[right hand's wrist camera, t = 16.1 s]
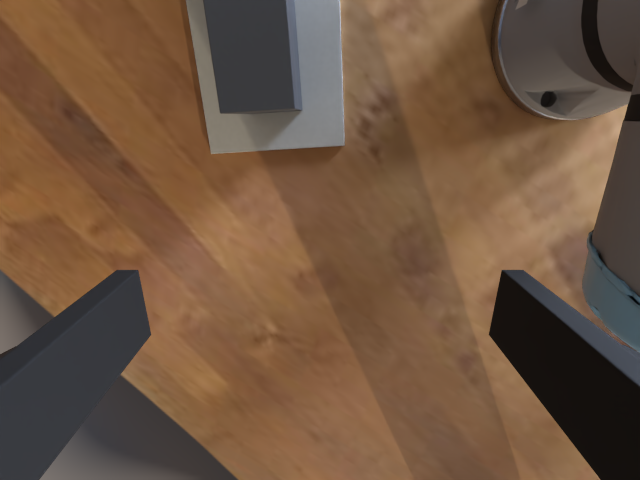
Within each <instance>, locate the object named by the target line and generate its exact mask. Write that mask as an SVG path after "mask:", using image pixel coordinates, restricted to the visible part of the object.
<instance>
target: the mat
mask: <svg viewBox="0 0 640 480" xmlns="http://www.w3.org/2000/svg"><path fill="white" fill-rule="evenodd" d="M186 5H187V11H188V17H189V23H190V29H191V35H192V41H193V47H194V53H195V59H196V66H197V72H198V78H199V84H200V90H201V96H202V102H203V108H204V114H205V120H206V126H207V133H208V139H209V145H210V151H211V154H217V153H234V152H250V151H266V150H283V149H299V148H315V147H332V146H344V145H345V142H344V112H343V82H342V52H341V22H340V0H295V13H296V27H297V41H298V54H299V68H300V82H301V95H302V109H303V110H302V111H292V112H276V113H261V114H221V113H220V110H219V103H218V97H217V90H216V83H215V77H214V70H213V63H212V57H211V50H210V44H209V37H208V30H207V24H206V17H205V10H204V4H203V0H186Z"/></svg>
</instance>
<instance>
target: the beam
mask: <svg viewBox="0 0 640 480" xmlns="http://www.w3.org/2000/svg"><path fill="white" fill-rule="evenodd" d="M203 4H204V10H205V17H206V24H207V30H208V37H209V44H210V50H211V57H212V63H213V70H214V77H215V83H216V90H217V97H218V103H219V110H220V113H221V114H261V113H276V112H292V111H302V110H303V109H302V95H301V82H300V68H299V54H298V41H297V27H296V13H295V0H203Z"/></svg>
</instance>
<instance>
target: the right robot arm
mask: <svg viewBox="0 0 640 480" xmlns="http://www.w3.org/2000/svg"><path fill="white" fill-rule="evenodd" d="M492 59H493V64H494V68H495V71H496V75H497V77H498V80H499V82H500V84H501V86H502V88H503V89H504V91H505V92H506V94H507V95H508V96H509V97H510V99H511V100H512V101H513V102H514V103H515V104H517V105H518V106H519V107H520V108H522V109H523V110H525V111H527V112H528V113H530V114H533V115H535V116H538V117H542V118H546V119H553V120H579V119H586V118H591V117H594V116H598V115H601V114H604V113H607V112H610V111H612V110H615V109H617V108H619V107H622V106H624V105H627V104H628V107H627V111H626V115H625V118H624V120H623V123H622V127H621V131H620V135H619V139H618V143H617V147H616V151H615V155H614V159H613V163H612V166H611V170H610V174H609V177H608V181H607V184H606V188H605V192H604V195H603V199H602V202H601V206H600V209H599V213H598V217H597V220H596V224H595V227H594V230H593V231H592V232H590V233H589V235H588V238H587V248H588V256H587V261H586V266H585V271H584V276H583V281H582V288H583V293H584V296H585V299H586V302H587V304H588V305H589V307H590V308H591V310H592V311H593V312H594V314H595V315H596V316H597V317H598V318H600V319H601V320H602V321H603V323H604V325H605V326H606V327H607V328H608V329H609V330H610V331H611V332H612V333H614V334H615V335H616V336H617V337H618V338H620V339H621V340H622V341H624V342H625V343H626V344H628V345H629V346H631V347H632V348H633V349H635V350H636V351H635V350H633V349H631V348H629V347H627V346H625V345H621V344H620V343H618V342H617V341H616V340H614V339H613V338H612V337H610V336H609V335H608V334H606V333H605V332H604V331H603V330H601V329H600V328H599V327H597V326H596V325H595V324H593V323H592V322H591V321H589V320H588V319H587V318H585V317H584V316H583V315H581V314H580V313H579V312H578V311H576V310H575V309H574V308H572V307H571V306H570V305H568V304H567V303H566V302H564V301H563V300H562V299H560V298H559V297H558V296H557V295H555V294H554V293H553V292H551V291H550V290H549V289H547V288H546V287H545V286H543V285H542V284H541V283H539V282H538V281H537V280H535V279H534V278H533V277H532V276H530V275H529V274H528V273H526V272H525V271H524V270H502V272H501V277H500V282H499V287H498V292H497V297H496V302H495V307H494V312H493V317H492V322H491V327H490V332H489V335H490V337H491V338H492V339H493V341H494V342H495V343H496V344H497V346H498V347H499V348H500V350H501V351H502V352H503V353H504V355H505V356H506V357H507V359H508V360H509V361H510V363H511V364H512V365H513V366H514V368H515V369H516V370H517V372H518V373H519V374H520V376H521V377H522V378H523V379H524V381H525V382H526V383H527V385H528V386H529V387H530V389H531V390H532V391H533V392H534V394H535V395H536V396H537V398H538V399H539V400H540V401H541V403H542V404H543V405H544V407H545V408H546V409H547V411H548V412H549V413H550V414H551V416H552V417H553V418H554V420H555V421H556V422H557V424H558V425H559V426H560V427H561V429H562V430H563V431H564V433H565V434H566V435H567V436H568V438H569V439H570V440H571V442H572V443H573V444H574V446H575V447H576V448H577V449H578V451H579V452H580V453H581V455H582V456H583V457H584V459H585V460H586V461H587V462H588V464H589V465H590V466H591V468H592V469H593V470H594V471H595V473H596V474H597V475H598V477H599V478H600V479H601V480H640V0H500V1H499V4H498V7H497V10H496V14H495V18H494V23H493V29H492ZM150 335H151V332H150V327H149V322H148V317H147V312H146V307H145V302H144V297H143V292H142V287H141V282H140V277H139V272H138V270H116V271H115V272H114V273H112V274H111V275H110V276H108V277H107V278H106V279H105V280H103V281H102V282H101V283H99V284H98V285H97V286H95V287H94V288H93V289H91V290H90V291H89V292H87V293H86V294H85V295H83V296H82V297H81V298H80V299H78V300H77V301H76V302H74V303H73V304H72V305H70V306H69V307H68V308H66V309H65V310H64V311H62V312H61V313H60V314H59V315H57V316H56V317H55V318H53V319H52V320H51V321H49V322H48V323H47V324H45V325H44V326H43V327H41V328H40V329H39V330H38V331H36V332H35V333H34V334H32V335H31V336H30V337H28V338H27V339H26V340H24V341H23V342H22V343H20V344H19V345H18V346H16V347H14V348H12V349H10V350H8V351H6V352H4V353H2V354H0V480H39V479H40V478H41V477H42V475H43V474H44V473H45V471H46V470H47V469H48V468H49V466H50V465H51V464H52V462H53V461H54V460H55V459H56V457H57V456H58V455H59V453H60V452H61V451H62V449H63V448H64V447H65V446H66V444H67V443H68V442H69V440H70V439H71V438H72V436H73V435H74V434H75V433H76V431H77V430H78V429H79V427H80V426H81V425H82V423H83V422H84V421H85V420H86V418H87V417H88V416H89V414H90V413H91V412H92V411H93V409H94V408H95V407H96V405H97V404H98V403H99V401H100V400H101V399H102V398H103V396H104V395H105V394H106V392H107V391H108V390H109V389H110V387H111V386H112V385H113V383H114V382H115V381H116V379H117V378H118V377H119V376H120V374H121V373H122V372H123V370H124V369H125V368H126V366H127V365H128V364H129V363H130V361H131V360H132V359H133V357H134V356H135V355H136V353H137V352H138V351H139V350H140V348H141V347H142V346H143V344H144V343H145V342H146V341H147V339H148V338H149V337H150ZM637 351H638V352H637Z"/></svg>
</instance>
